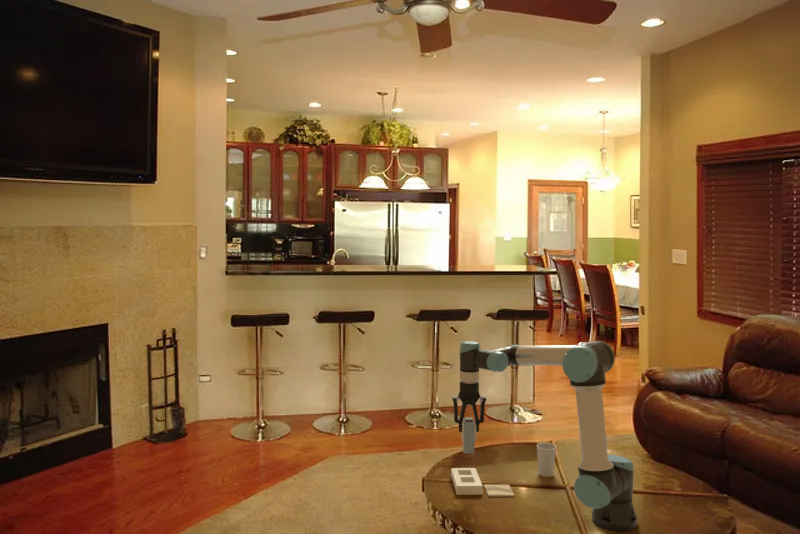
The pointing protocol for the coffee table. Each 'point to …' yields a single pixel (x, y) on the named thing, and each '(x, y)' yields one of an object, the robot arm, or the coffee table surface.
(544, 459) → the cup
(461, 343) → the robot arm
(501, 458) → the coffee table surface
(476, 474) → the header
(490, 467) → the coffee table surface
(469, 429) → the plug
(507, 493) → the pad
